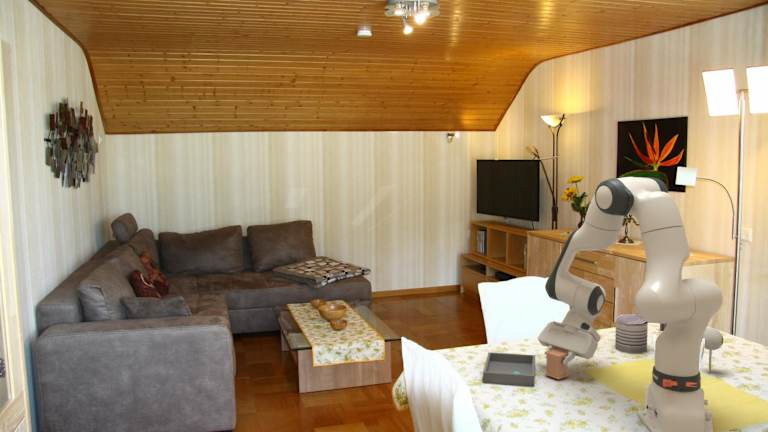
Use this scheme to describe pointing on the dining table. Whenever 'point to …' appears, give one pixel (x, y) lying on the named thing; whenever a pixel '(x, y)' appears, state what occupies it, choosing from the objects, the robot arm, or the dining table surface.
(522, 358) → the charcoal tray
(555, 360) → the terracotta square pedestal
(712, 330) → the lollipop
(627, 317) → the can
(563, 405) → the dining table surface
